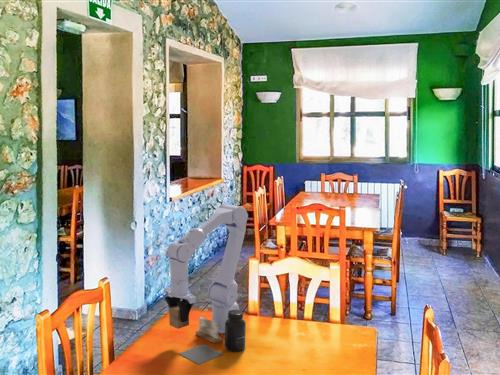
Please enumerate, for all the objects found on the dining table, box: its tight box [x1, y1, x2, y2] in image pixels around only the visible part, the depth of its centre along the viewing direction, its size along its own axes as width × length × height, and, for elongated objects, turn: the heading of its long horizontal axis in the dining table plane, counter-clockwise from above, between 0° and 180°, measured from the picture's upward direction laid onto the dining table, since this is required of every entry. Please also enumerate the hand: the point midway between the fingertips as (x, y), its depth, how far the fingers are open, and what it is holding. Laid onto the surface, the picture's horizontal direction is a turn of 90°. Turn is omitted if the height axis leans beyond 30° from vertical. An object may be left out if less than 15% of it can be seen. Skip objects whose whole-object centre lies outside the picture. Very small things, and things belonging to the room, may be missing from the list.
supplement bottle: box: [223, 309, 247, 353], centre depth 165 cm, size 7×7×12 cm
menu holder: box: [195, 316, 223, 344], centre depth 173 cm, size 10×3×6 cm, turn 45°
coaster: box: [178, 343, 224, 365], centre depth 161 cm, size 10×10×1 cm
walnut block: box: [168, 305, 190, 330], centre depth 168 cm, size 4×4×6 cm
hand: (179, 319), depth 168 cm, fingers closed on walnut block, 4 cm apart
